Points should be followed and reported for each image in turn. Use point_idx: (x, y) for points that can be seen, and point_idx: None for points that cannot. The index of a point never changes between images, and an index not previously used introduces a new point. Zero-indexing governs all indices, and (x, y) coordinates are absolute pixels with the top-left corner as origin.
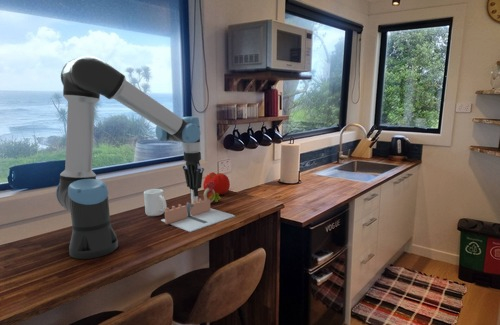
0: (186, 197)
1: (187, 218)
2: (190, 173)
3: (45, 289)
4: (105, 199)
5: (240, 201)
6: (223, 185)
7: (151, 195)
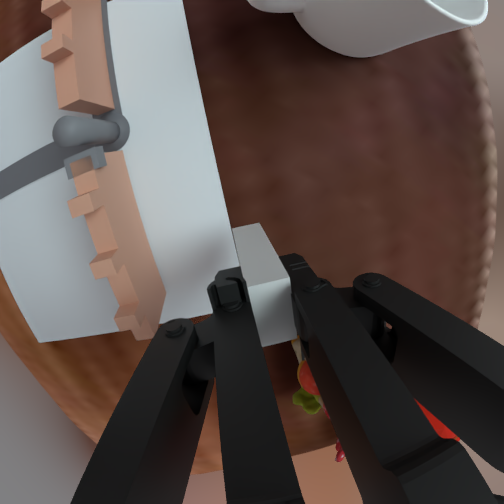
0: (459, 282)
1: (90, 114)
2: (388, 490)
3: None
4: None
5: None
6: None
7: None
